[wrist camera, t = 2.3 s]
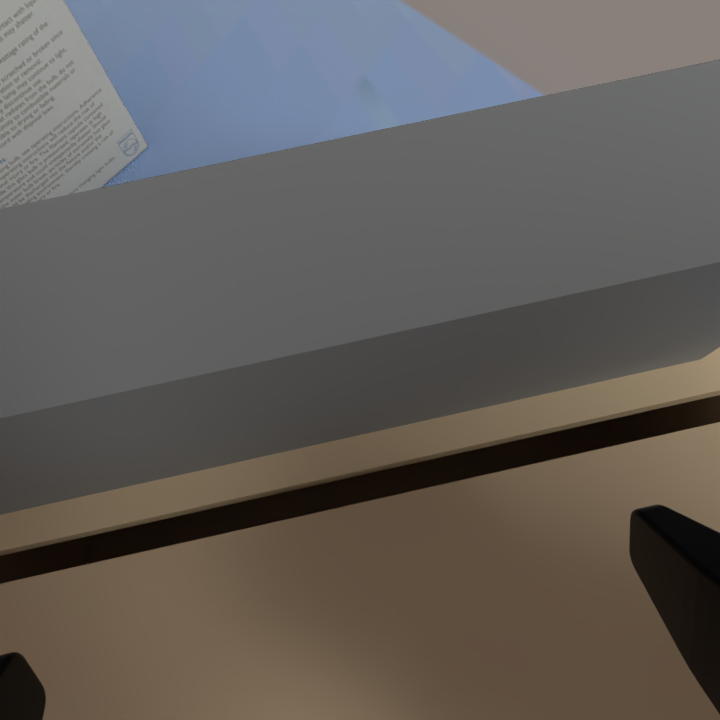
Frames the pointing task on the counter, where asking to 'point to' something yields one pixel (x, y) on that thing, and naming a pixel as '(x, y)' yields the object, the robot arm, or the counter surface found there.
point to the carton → (385, 592)
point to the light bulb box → (56, 108)
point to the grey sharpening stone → (357, 305)
